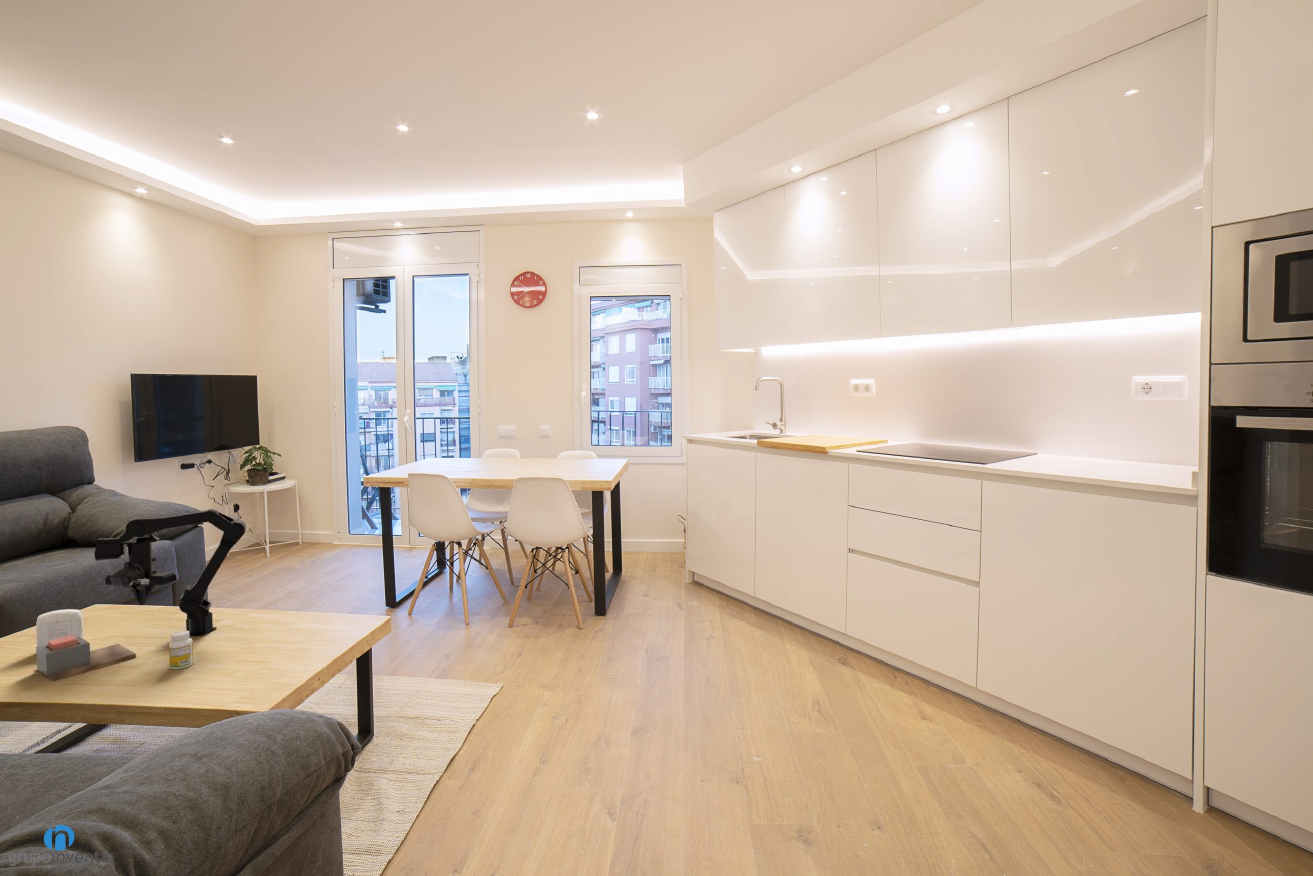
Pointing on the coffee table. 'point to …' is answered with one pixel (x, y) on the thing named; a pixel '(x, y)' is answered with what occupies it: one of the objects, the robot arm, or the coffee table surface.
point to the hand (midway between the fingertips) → (142, 604)
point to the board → (97, 660)
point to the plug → (62, 643)
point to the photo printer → (58, 625)
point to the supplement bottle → (181, 650)
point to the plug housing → (63, 657)
